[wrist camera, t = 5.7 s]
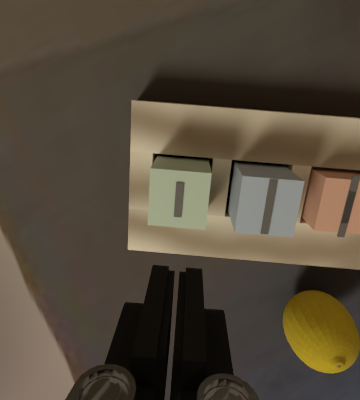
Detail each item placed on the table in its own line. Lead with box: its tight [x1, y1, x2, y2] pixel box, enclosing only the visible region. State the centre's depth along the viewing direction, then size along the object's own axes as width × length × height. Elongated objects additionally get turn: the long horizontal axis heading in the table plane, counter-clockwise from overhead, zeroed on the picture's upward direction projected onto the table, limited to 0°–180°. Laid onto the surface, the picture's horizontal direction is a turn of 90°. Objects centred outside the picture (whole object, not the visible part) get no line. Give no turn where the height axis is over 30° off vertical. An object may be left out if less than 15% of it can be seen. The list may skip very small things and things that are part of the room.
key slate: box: [228, 162, 305, 237], centre depth 23 cm, size 4×4×4 cm
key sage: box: [148, 156, 212, 230], centre depth 23 cm, size 4×4×4 cm
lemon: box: [283, 290, 360, 373], centre depth 27 cm, size 6×6×8 cm
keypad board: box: [128, 100, 360, 270], centre depth 26 cm, size 12×20×2 cm, turn 86°
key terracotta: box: [301, 167, 360, 237], centre depth 24 cm, size 5×4×4 cm
